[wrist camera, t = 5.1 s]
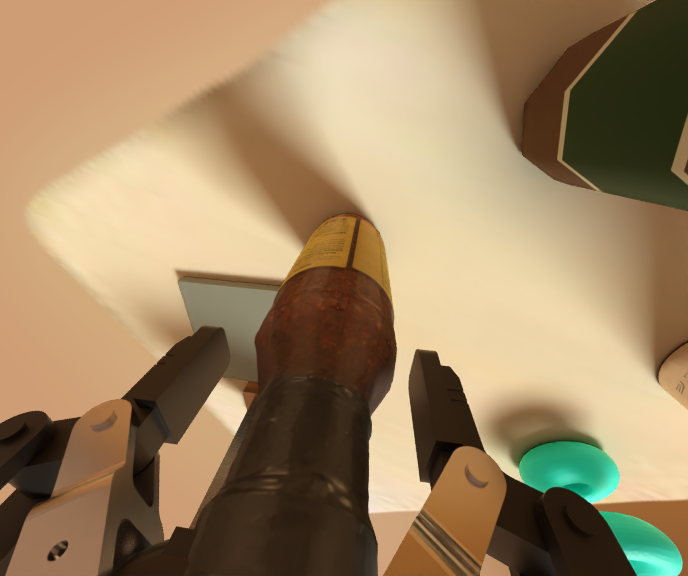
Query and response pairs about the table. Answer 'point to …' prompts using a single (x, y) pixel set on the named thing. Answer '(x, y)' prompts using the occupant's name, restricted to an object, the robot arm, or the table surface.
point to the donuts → (593, 485)
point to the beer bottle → (618, 109)
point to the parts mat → (230, 316)
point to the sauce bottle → (310, 420)
